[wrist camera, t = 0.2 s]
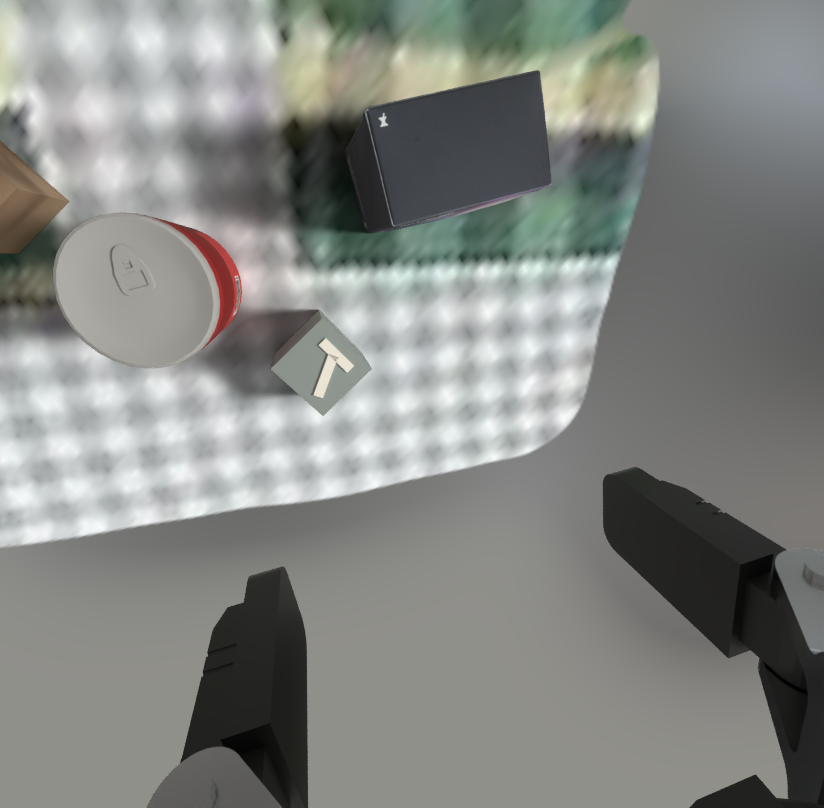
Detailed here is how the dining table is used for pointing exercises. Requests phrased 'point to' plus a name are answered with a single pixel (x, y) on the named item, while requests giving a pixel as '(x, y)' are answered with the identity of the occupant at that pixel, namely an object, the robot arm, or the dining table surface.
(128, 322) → the canned food
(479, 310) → the dining table surface
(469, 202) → the small box
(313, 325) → the slate digit block
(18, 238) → the walnut digit block
